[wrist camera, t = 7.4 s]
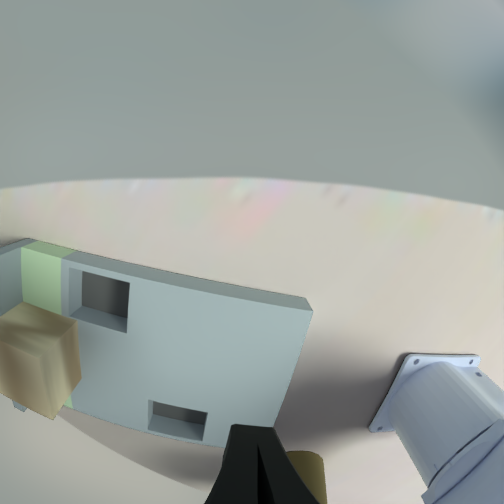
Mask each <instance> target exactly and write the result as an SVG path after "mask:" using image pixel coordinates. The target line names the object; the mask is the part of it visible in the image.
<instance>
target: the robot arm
mask: <svg viewBox="0 0 504 504" xmlns="http://www.w3.org/2000/svg"><path fill="white" fill-rule="evenodd" d="M415 360H416V361H415ZM480 360H481V357H480V356H479V355H429V354H409V355H408V356H407V357H406V358H405V359H404V362H403V364H402V366H401V368H400V370H399V372H398V374H397V376H396V378H395V380H394V382H393V384H392V386H391V388H390V390H389V392H388V394H387V396H386V398H385V400H384V401H383V403H382V405H381V407H380V409H379V410H378V412H377V414H376V416H375V417H374V419H373V421H372V423H371V424H370V426H369V430H370V432H385V431H396V433H397V435H398V436H399V438H400V440H401V442H402V443H403V445H404V447H405V449H406V450H407V452H408V454H409V456H410V457H411V459H412V461H413V463H414V465H415V466H416V468H417V470H418V472H419V473H420V475H421V477H422V479H423V481H424V483H425V484H426V486H427V488H428V490H427V491H426V492H425V493H424V494H422V495H421V497H422V499H423V501H424V503H425V504H504V391H503V390H502V389H501V388H500V387H499V386H498V385H496V384H495V383H494V382H493V381H492V380H491V379H490V378H489V377H488V376H487V375H486V374H484V373H483V372H482V371H481V370H480V369H479V368H478V365H479V363H480ZM414 361H415V362H414ZM204 504H320V503H319V501H318V500H317V499H316V498H315V496H314V495H313V494H312V492H311V491H310V490H309V488H308V487H307V486H306V484H305V483H304V481H303V480H302V478H301V477H300V475H299V474H298V472H297V470H296V469H295V467H294V466H293V464H292V462H291V461H290V459H289V457H288V455H287V453H286V452H285V450H284V448H283V446H282V444H281V442H280V440H279V438H278V436H277V434H276V431H275V430H274V428H273V427H263V426H253V425H243V424H233V425H231V427H230V431H229V435H228V439H227V443H226V447H225V451H224V455H223V462H222V468H221V470H220V473H219V475H218V477H217V480H216V482H215V484H214V486H213V488H212V490H211V492H210V494H209V496H208V498H207V500H206V501H205V503H204Z"/></svg>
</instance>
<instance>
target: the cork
mask: <svg viewBox="0 0 504 504" xmlns="http://www.w3.org/2000/svg"><path fill="white" fill-rule="evenodd" d="M286 453H287V455H288V457H289V459H290V461H291V462H292V464H293V466H294V467H295V469H296V470H297V472H298V474H299V475H300V477H301V478H302V480H303V481H304V483H305V484H306V486H307V487H308V488H309V490H310V491H311V492H312V494H313V495H314V496H315V498H316V499H317V500H318V501H319V503H320V504H327V494H326V484H325V474H324V464H323V459H322V458H321V457H320V456H319V455H318V454H315V453H313V452H308V451H290V452H286Z"/></svg>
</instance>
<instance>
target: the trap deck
mask: <svg viewBox="0 0 504 504" xmlns="http://www.w3.org/2000/svg"><path fill="white" fill-rule="evenodd" d="M23 301H24V302H26V303H29V304H32V305H34V306H37V307H40V308H42V309H45V310H48V311H51V312H54V313H56V314H59V315H62V316H65V317H68V318H71V319H74V320H77V321H78V341H79V355H80V366H81V376H82V379H81V380H80V382H79V383H78V384H77V386H76V387H75V389H74V390H73V392H72V393H71V394H70V396H69V397H68V399H67V400H66V402H65V403H64V406H67V407H69V408H72V409H74V410H77V411H79V412H82V413H85V414H88V415H90V416H93V417H96V418H99V419H102V420H105V421H108V422H111V423H114V424H117V425H120V426H124V427H127V428H131V429H134V430H138V431H142V432H145V433H149V434H153V435H157V436H162V437H166V438H170V439H175V440H180V441H185V442H190V443H196V444H201V445H207V446H214V447H221V448H225V447H226V443H227V439H228V435H229V431H230V427H231V425H233V424H243V425H253V426H263V427H273V426H274V423H275V421H276V418H277V416H278V413H279V410H280V408H281V405H282V403H283V400H284V397H285V394H286V392H287V389H288V386H289V383H290V381H291V378H292V375H293V372H294V369H295V366H296V364H297V361H298V358H299V355H300V352H301V349H302V346H303V343H304V340H305V337H306V333H307V330H308V327H309V324H310V321H311V318H312V314H313V310H312V308H311V306H310V305H309V303H308V301H307V299H306V298H302V297H296V296H291V295H285V294H279V293H274V292H268V291H263V290H258V289H252V288H247V287H242V286H236V285H231V284H226V283H221V282H216V281H211V280H206V279H201V278H196V277H191V276H187V275H182V274H177V273H172V272H168V271H163V270H158V269H154V268H149V267H145V266H140V265H136V264H131V263H127V262H123V261H118V260H114V259H110V258H106V257H101V256H97V255H93V254H89V253H85V252H81V251H76V250H72V249H68V248H64V247H60V246H57V245H53V244H49V243H45V242H41V241H37V240H33V239H30V238H27V239H24V240H21V241H18V242H15V243H12V244H10V245H7V246H4V247H1V248H0V316H2V315H3V314H5V313H6V312H8V311H9V310H11V309H12V308H14V307H15V306H17V305H18V304H20V303H21V302H23ZM12 401H13V400H12ZM13 404H14V407H16V408H17V409H19V410H21V411H23V412H24V411H25V410H26V409H27V407H25V406H23V405H21V404H19V403H17V402H15V401H13Z"/></svg>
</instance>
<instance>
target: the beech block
mask: <svg viewBox="0 0 504 504" xmlns="http://www.w3.org/2000/svg"><path fill="white" fill-rule="evenodd" d="M81 379H82V376H81V366H80V355H79V341H78V321H77V320H74V319H71V318H68V317H65V316H62V315H59V314H56V313H54V312H51V311H48V310H45V309H42V308H40V307H37V306H34V305H32V304H29V303H26V302H24V301H23V302H21V303H20V304H18V305H17V306H15V307H14V308H12V309H11V310H9V311H8V312H6V313H5V314H3V315H2V316H0V393H1V394H3V395H5V396H6V397H8V398H10V399H12V400H13V401H15V402H17V403H19V404H21V405H23V406H25V407H27V408H29V409H31V410H33V411H35V412H37V413H39V414H41V415H43V416H45V417H47V418H49V419H52V420H54V418H55V417H56V415H57V414H58V412H59V411H60V409H61V408H62V406H63V405H64V403H65V402H66V400H67V399H68V397H69V396H70V394H71V393H72V392H73V390H74V389H75V387H76V386H77V384H78V383H79V382H80V380H81Z"/></svg>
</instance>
